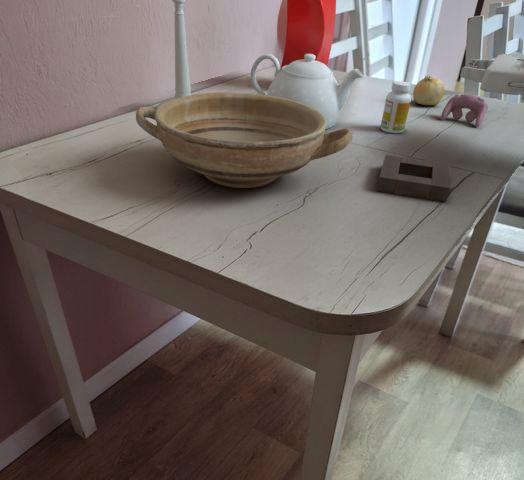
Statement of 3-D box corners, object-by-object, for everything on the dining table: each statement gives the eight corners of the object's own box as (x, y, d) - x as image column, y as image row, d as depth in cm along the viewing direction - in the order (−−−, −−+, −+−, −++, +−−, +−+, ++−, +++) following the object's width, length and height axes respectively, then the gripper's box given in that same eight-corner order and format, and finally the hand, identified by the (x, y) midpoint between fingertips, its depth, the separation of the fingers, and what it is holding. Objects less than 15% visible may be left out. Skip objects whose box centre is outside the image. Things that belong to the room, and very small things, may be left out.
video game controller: (480, 131, 120) (492, 101, 118) (479, 126, 116) (491, 95, 114) (441, 123, 124) (452, 93, 122) (438, 118, 120) (450, 87, 118)
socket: (445, 177, 92) (449, 164, 90) (445, 202, 83) (450, 188, 81) (382, 167, 94) (385, 154, 92) (376, 191, 85) (379, 177, 83)
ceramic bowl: (347, 158, 96) (356, 103, 90) (339, 222, 75) (351, 156, 68) (167, 137, 100) (163, 83, 93) (110, 192, 79) (100, 127, 72)
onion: (414, 98, 135) (420, 69, 130) (443, 103, 132) (451, 74, 128) (407, 105, 129) (414, 75, 124) (438, 110, 127) (446, 80, 122)
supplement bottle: (406, 129, 113) (416, 82, 107) (400, 135, 109) (411, 87, 103) (383, 124, 115) (392, 78, 108) (377, 130, 111) (386, 83, 104)
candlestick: (212, 105, 120) (210, -54, 100) (209, 120, 110) (207, -51, 90) (160, 102, 119) (147, -58, 99) (152, 118, 109) (137, -56, 89)
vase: (270, 82, 140) (277, -43, 122) (318, 82, 143) (331, -40, 125) (285, 96, 129) (295, -38, 111) (335, 95, 133) (353, -35, 114)
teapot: (315, 107, 123) (322, 44, 114) (355, 129, 111) (367, 61, 102) (247, 112, 116) (249, 46, 107) (282, 137, 104) (288, 64, 95)
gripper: (527, 107, 89) (451, 95, 93) (534, 86, 103) (468, 76, 108) (542, 68, 85) (461, 57, 89) (547, 52, 99) (478, 42, 103)
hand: (465, 67), depth 99 cm, fingers open, 8 cm apart
